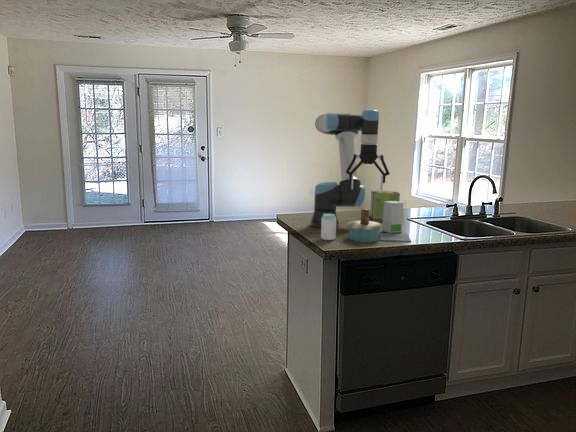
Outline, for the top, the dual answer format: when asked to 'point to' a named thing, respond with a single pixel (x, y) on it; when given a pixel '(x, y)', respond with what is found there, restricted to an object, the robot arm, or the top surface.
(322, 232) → the can
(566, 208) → the top surface
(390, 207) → the skincare box
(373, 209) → the protein box
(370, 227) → the lid
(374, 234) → the bowl
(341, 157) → the robot arm
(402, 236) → the mat
